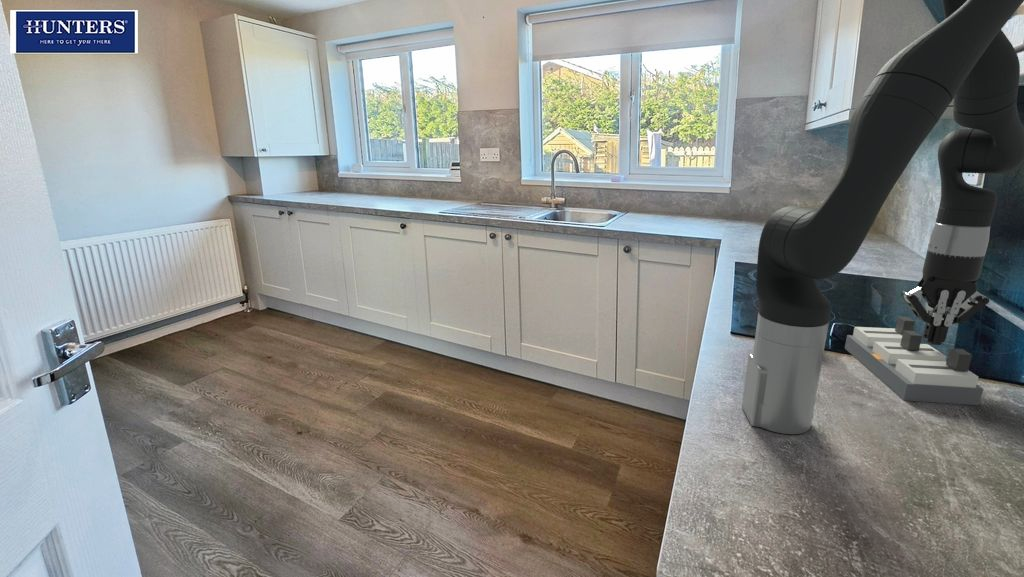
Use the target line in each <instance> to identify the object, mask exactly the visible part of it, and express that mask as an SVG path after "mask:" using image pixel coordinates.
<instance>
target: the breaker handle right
mask: <svg viewBox="0 0 1024 577" xmlns="http://www.w3.org/2000/svg"><path fill="white" fill-rule="evenodd" d="M972 357H973V354H972V353H970V352H968V351H966V350H965V349H963V348H949V350H948V355H947V358H946V362H947V363H946V365H947V366H949V367H950V368H952V369H953V370H955V371H966V372H968V370H969V369H970V364H971V361H972Z"/></svg>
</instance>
